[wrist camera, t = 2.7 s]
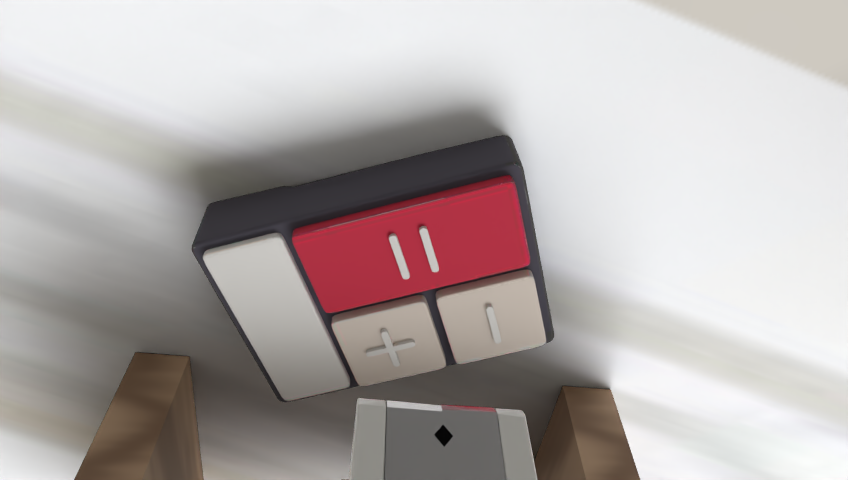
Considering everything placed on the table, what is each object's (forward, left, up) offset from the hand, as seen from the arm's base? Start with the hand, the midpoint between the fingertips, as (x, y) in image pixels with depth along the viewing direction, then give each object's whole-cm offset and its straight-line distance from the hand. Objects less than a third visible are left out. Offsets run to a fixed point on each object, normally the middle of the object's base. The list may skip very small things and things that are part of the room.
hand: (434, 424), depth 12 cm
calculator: (0, +11, -19) cm, 22 cm away
